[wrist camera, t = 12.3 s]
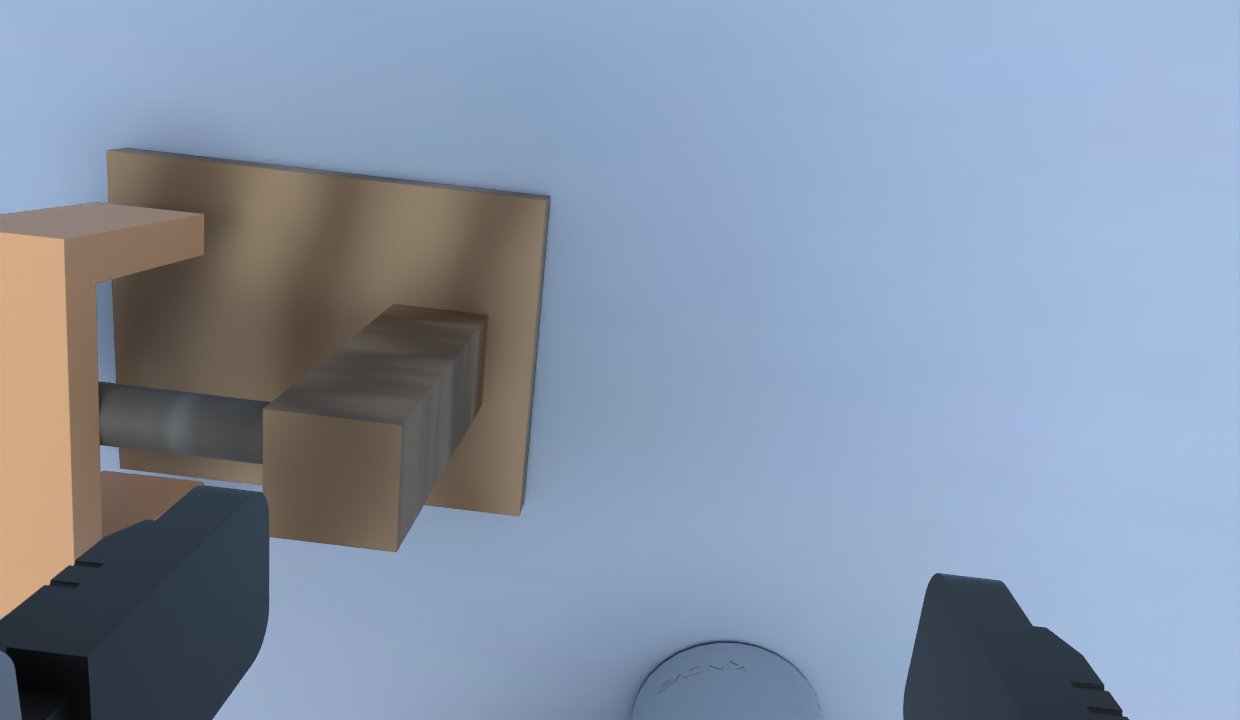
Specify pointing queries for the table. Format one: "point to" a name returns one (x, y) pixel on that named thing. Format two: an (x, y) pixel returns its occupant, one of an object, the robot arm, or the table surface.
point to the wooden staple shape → (68, 383)
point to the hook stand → (330, 343)
